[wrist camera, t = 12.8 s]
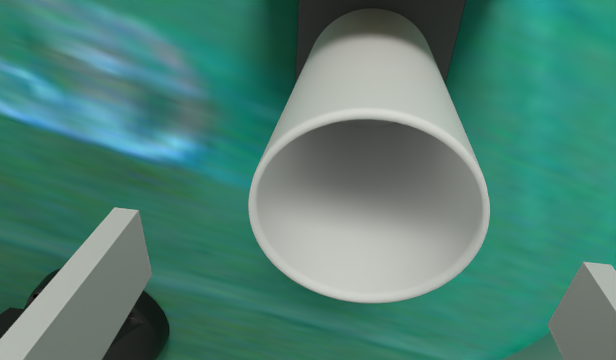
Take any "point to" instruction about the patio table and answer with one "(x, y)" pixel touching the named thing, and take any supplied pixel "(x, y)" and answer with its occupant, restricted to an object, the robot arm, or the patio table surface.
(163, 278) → the patio table surface
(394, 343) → the patio table surface
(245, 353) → the patio table surface
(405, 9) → the mat
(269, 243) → the cup
